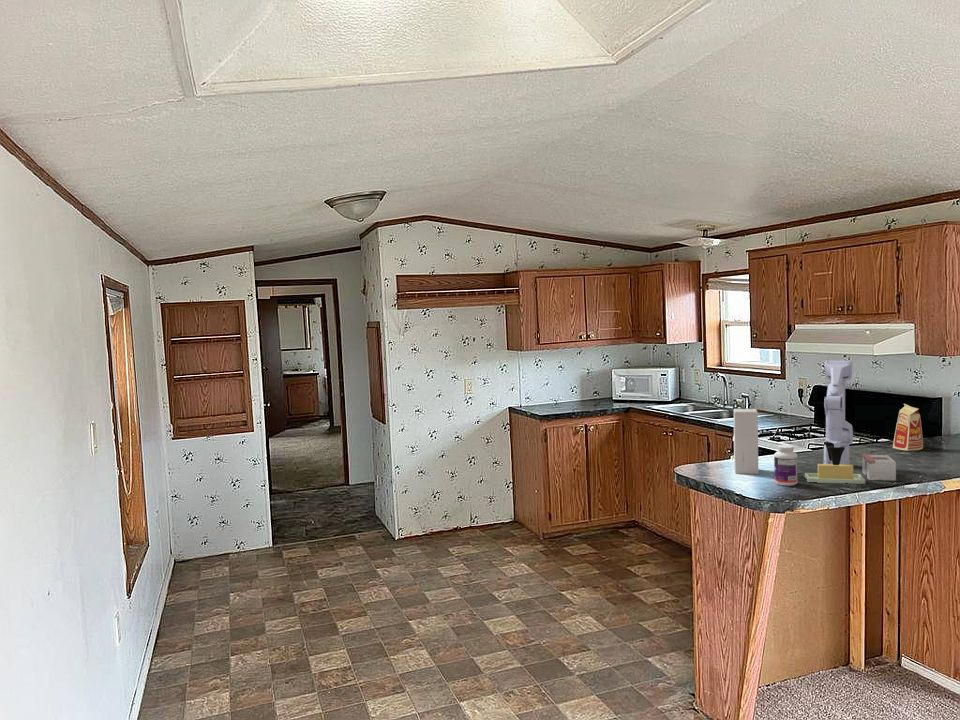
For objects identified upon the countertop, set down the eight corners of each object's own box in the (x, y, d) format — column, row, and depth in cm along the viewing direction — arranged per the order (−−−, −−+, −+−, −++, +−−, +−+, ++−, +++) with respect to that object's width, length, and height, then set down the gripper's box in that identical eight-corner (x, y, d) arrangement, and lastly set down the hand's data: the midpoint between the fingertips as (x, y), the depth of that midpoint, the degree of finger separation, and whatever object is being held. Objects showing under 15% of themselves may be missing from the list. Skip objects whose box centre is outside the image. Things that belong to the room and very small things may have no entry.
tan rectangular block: (818, 479, 294) (818, 465, 293) (817, 478, 297) (817, 463, 296) (853, 480, 290) (853, 466, 290) (851, 478, 293) (851, 464, 293)
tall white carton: (735, 473, 311) (734, 411, 309) (734, 468, 319) (733, 408, 317) (758, 474, 308) (757, 411, 306) (756, 469, 317) (756, 408, 315)
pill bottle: (778, 480, 297) (778, 443, 295) (800, 483, 291) (800, 445, 290) (771, 484, 290) (771, 446, 289) (793, 487, 285) (793, 448, 284)
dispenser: (869, 479, 292) (869, 460, 292) (862, 472, 305) (862, 453, 304) (895, 480, 290) (895, 461, 289) (887, 472, 302) (887, 454, 302)
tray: (808, 482, 292) (808, 478, 292) (804, 476, 301) (804, 472, 301) (865, 484, 286) (865, 480, 286) (860, 478, 296) (860, 474, 296)
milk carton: (892, 447, 349) (892, 403, 347) (908, 446, 352) (908, 402, 350) (909, 451, 340) (909, 406, 339) (925, 449, 343) (925, 404, 341)
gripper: (849, 430, 284) (849, 467, 285) (842, 424, 298) (842, 458, 299) (828, 430, 286) (828, 466, 287) (822, 423, 300) (822, 458, 301)
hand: (834, 462), depth 293 cm, fingers open, 7 cm apart
